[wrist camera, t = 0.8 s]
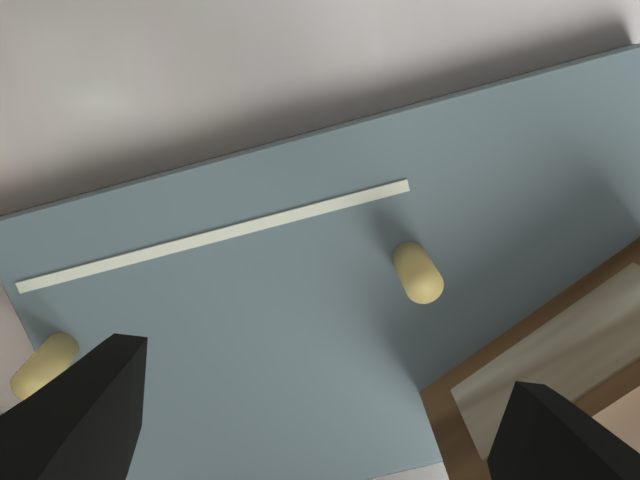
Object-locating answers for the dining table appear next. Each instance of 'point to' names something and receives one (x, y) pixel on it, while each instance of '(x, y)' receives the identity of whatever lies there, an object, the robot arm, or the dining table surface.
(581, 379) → the brown box
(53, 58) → the dining table surface
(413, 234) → the shelf board
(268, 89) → the dining table surface
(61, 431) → the robot arm
